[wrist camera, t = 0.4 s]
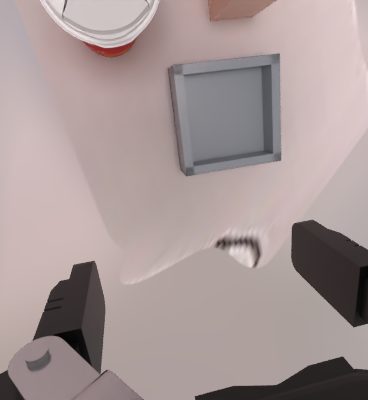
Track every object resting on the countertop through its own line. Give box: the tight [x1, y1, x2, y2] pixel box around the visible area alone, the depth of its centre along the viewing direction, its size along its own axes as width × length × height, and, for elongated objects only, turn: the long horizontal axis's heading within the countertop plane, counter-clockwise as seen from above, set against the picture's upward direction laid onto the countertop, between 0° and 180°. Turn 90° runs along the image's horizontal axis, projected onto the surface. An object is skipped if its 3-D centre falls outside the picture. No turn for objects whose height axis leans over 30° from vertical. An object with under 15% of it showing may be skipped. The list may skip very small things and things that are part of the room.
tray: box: [168, 54, 281, 176], centre depth 35 cm, size 12×12×4 cm
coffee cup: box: [40, 0, 160, 57], centre depth 25 cm, size 8×8×15 cm
